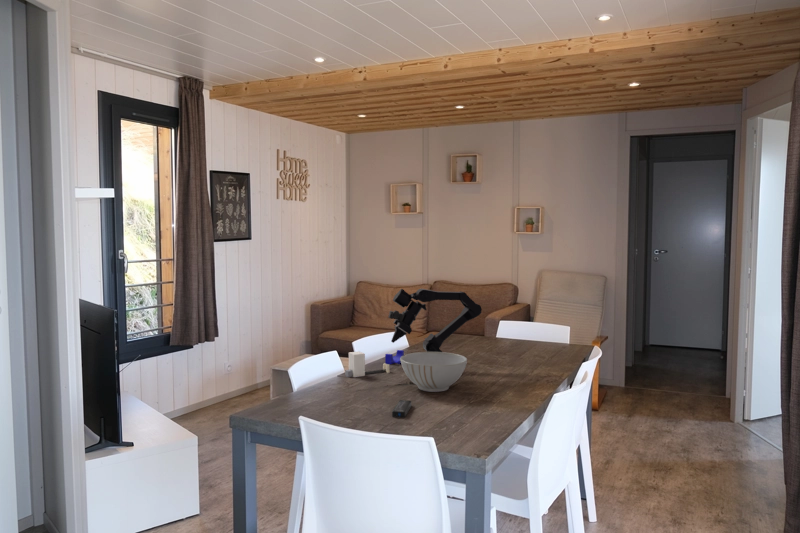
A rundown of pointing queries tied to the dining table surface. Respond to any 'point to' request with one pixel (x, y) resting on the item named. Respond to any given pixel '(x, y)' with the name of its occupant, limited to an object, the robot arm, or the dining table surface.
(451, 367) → the decorative bowl
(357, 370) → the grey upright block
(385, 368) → the cord board
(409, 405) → the multiport hub
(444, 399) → the dining table surface
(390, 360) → the cable clip
